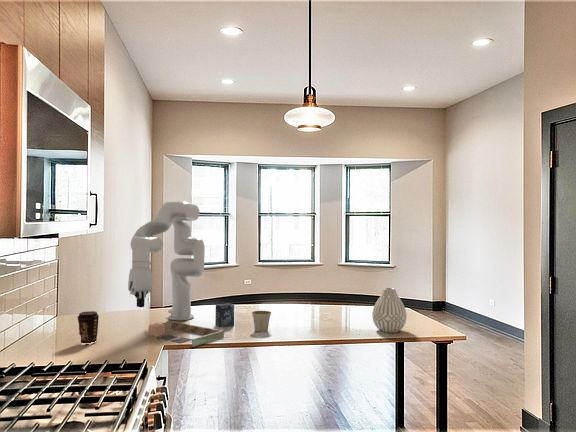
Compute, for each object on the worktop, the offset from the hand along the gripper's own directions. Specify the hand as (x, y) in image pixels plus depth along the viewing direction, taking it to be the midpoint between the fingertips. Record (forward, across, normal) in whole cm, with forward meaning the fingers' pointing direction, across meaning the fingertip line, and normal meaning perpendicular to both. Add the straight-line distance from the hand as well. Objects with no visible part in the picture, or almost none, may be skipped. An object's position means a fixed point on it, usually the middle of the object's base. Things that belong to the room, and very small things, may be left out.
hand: (140, 306), depth 222 cm
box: (+14, -41, +14) cm, 45 cm away
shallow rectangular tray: (+14, -13, +12) cm, 22 cm away
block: (+14, -10, 0) cm, 17 cm away
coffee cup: (+14, +17, -12) cm, 26 cm away
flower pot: (+14, -43, +35) cm, 57 cm away
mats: (+14, -8, +13) cm, 21 cm away
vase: (+14, -77, +85) cm, 115 cm away
